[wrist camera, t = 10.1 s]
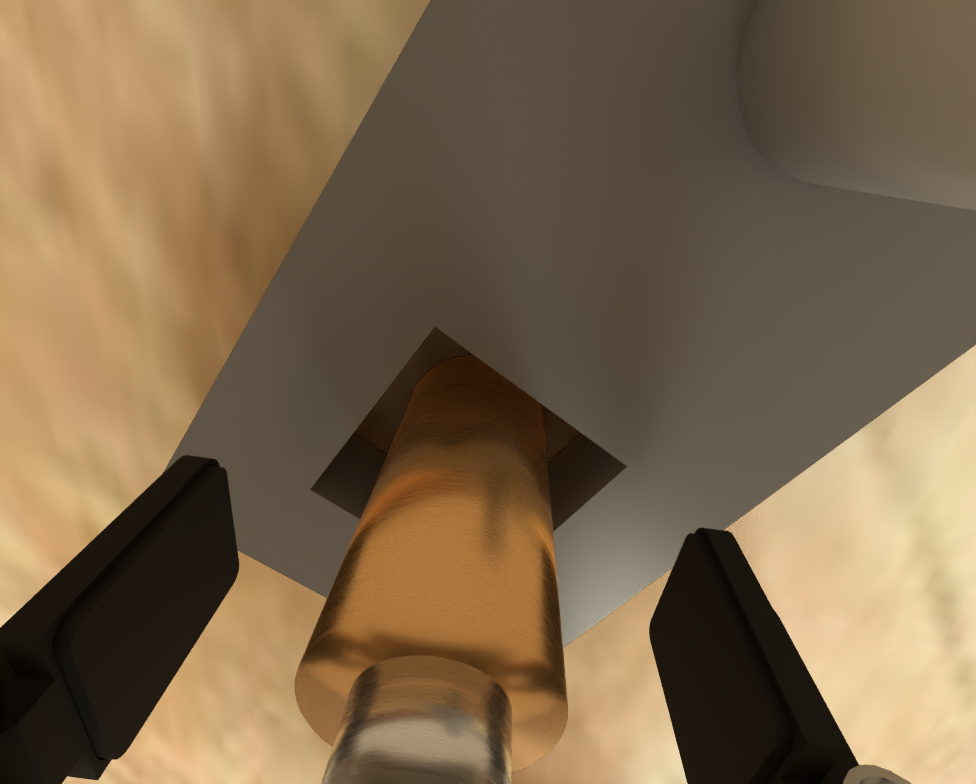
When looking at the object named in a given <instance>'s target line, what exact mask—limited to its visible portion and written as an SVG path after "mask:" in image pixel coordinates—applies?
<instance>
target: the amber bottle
mask: <svg viewBox="0 0 976 784" xmlns="http://www.w3.org/2000/svg"><path fill="white" fill-rule="evenodd" d="M295 694H296V700H297V703H298V706H299V708H300V711H301V713H302V714H303V716H304V718H305V719H306V721H307V723H308V724H309V725H310V726H311V728H312V729H313V730H314V731H315V732H316V733H317V734H318V735H319V736H320V737H321V738H322V739H323V740H324V741H325V742H327V743H328V744H329V745H331V746H332V747H333V748H332V751H331V754H330V757H329V761H328V764H327V767H326V770H325V774H324V777H323V780H322V783H321V784H511V773H513V772H516V771H518V770H521V769H523V768H525V767H527V766H529V765H531V764H533V763H534V762H536V761H537V760H539V759H540V758H542V757H543V756H544V755H546V754H547V753H548V752H549V751H550V750H551V749H552V748H553V747H554V746H555V744H556V743H557V742H558V740H559V739H560V737H561V735H562V733H563V731H564V729H565V726H566V722H567V718H568V703H567V691H566V679H565V667H564V655H563V643H562V631H561V619H560V607H559V595H558V583H557V571H556V559H555V547H554V535H553V523H552V511H551V499H550V487H549V475H548V463H547V451H546V439H545V427H544V415H543V407H542V404H541V403H539V402H538V401H537V400H535V399H534V398H532V397H531V396H530V395H528V394H527V393H526V392H524V391H523V390H521V389H520V388H519V387H517V386H516V385H515V384H513V383H512V382H510V381H509V380H508V379H506V378H505V377H504V376H502V375H501V374H499V373H498V372H497V371H495V370H494V369H493V368H491V367H490V366H488V365H487V364H486V363H484V362H483V361H482V360H480V359H479V358H477V357H476V356H475V355H468V356H460V357H456V358H452V359H449V360H446V361H444V362H442V363H440V364H438V365H437V366H435V367H433V368H432V369H431V370H430V371H428V372H427V373H426V374H425V375H424V376H423V378H422V379H421V380H420V381H419V383H418V384H417V386H416V388H415V390H414V392H413V395H412V397H411V399H410V402H409V404H408V407H407V409H406V411H405V414H404V416H403V419H402V421H401V423H400V426H399V428H398V430H397V433H396V435H395V438H394V440H393V442H392V445H391V447H390V450H389V452H388V454H387V457H386V459H385V462H384V464H383V466H382V469H381V471H380V474H379V476H378V478H377V481H376V483H375V485H374V488H373V490H372V493H371V495H370V497H369V500H368V502H367V505H366V507H365V509H364V512H363V514H362V517H361V519H360V521H359V524H358V526H357V528H356V531H355V533H354V536H353V538H352V540H351V543H350V545H349V548H348V550H347V552H346V555H345V557H344V560H343V562H342V564H341V567H340V569H339V572H338V574H337V576H336V579H335V581H334V583H333V586H332V588H331V591H330V593H329V595H328V598H327V600H326V603H325V605H324V607H323V610H322V612H321V615H320V617H319V619H318V622H317V624H316V627H315V629H314V631H313V634H312V636H311V638H310V641H309V643H308V646H307V648H306V650H305V653H304V655H303V658H302V660H301V662H300V665H299V667H298V670H297V674H296V678H295Z"/></svg>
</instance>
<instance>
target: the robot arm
mask: <svg viewBox="0 0 976 784" xmlns="http://www.w3.org/2000/svg"><path fill="white" fill-rule="evenodd" d="M238 571H239V559H238V551H237V544H236V536H235V529H234V521H233V514H232V506H231V499H230V491H229V484H228V476H227V471H226V469H225V468H223V467H220V465H219V462H218V461H217V460H216V459H212V458H205V457H198V456H191V455H184V456H182V457H180V458H179V459H178V460H177V461H176V462H175V463H174V464H173V465H172V466H170V467H169V468H168V469H167V470H166V471H165V472H164V473H163V474H162V475H161V476H160V477H159V478H158V479H157V480H156V481H155V482H154V483H153V484H151V485H150V486H149V487H148V488H147V489H146V490H145V491H144V492H143V493H142V494H141V495H140V496H139V497H138V498H137V499H136V500H135V501H134V502H133V503H131V504H130V505H129V506H128V507H127V508H126V509H125V510H124V511H123V512H122V513H121V514H120V515H119V516H118V517H117V518H116V519H115V520H114V521H112V522H111V523H110V524H109V525H108V526H107V527H106V528H105V529H104V530H103V531H102V532H101V533H100V534H99V535H98V536H97V537H96V538H95V539H94V540H92V541H91V542H90V543H89V544H88V545H87V546H86V547H85V548H84V549H83V550H82V551H81V552H80V553H79V554H78V555H77V556H76V557H75V558H73V559H72V560H71V561H70V562H69V563H68V564H67V565H66V566H65V567H64V568H63V569H62V570H61V571H60V572H59V573H58V574H57V575H56V576H55V577H53V578H52V579H51V580H50V581H49V582H48V583H47V584H46V585H45V586H44V587H43V588H42V589H41V590H40V591H39V592H38V593H37V594H36V595H34V596H33V597H32V598H31V599H30V600H29V601H28V602H27V603H26V604H25V605H24V606H23V607H22V608H21V609H20V610H19V611H18V612H17V613H16V614H14V615H13V616H12V617H11V618H10V619H9V620H8V621H7V622H6V623H5V624H4V625H3V626H2V627H1V628H0V784H62V783H63V781H64V780H65V778H66V777H67V776H69V777H77V778H84V779H92V780H99V778H100V777H101V775H102V773H103V772H104V770H105V769H106V767H107V766H108V764H109V763H110V761H111V760H112V759H118V758H120V757H121V756H122V755H123V754H124V753H125V752H126V751H127V749H128V748H129V747H130V745H131V743H132V742H133V740H134V739H135V737H136V736H137V734H138V733H139V731H140V729H141V728H142V726H143V725H144V723H145V722H146V720H147V718H148V717H149V715H150V714H151V712H152V711H153V709H154V707H155V706H156V704H157V703H158V701H159V700H160V698H161V696H162V695H163V693H164V692H165V690H166V689H167V687H168V685H169V684H170V682H171V681H172V679H173V678H174V676H175V674H176V673H177V671H178V670H179V668H180V667H181V665H182V664H183V662H184V660H185V659H186V657H187V656H188V654H189V653H190V651H191V649H192V648H193V646H194V645H195V643H196V642H197V640H198V638H199V637H200V635H201V634H202V632H203V631H204V629H205V627H206V626H207V624H208V623H209V621H210V620H211V618H212V616H213V615H214V613H215V612H216V610H217V609H218V607H219V605H220V604H221V602H222V601H223V599H224V598H225V596H226V594H227V593H228V591H229V590H230V588H231V587H232V585H233V583H234V582H235V580H236V577H237V574H238ZM649 634H650V641H651V645H652V649H653V653H654V657H655V660H656V664H657V668H658V672H659V676H660V680H661V683H662V687H663V691H664V695H665V699H666V703H667V707H668V710H669V714H670V718H671V722H672V726H673V730H674V733H675V737H676V741H677V745H678V749H679V753H680V756H681V760H682V764H683V768H684V772H685V776H686V779H687V783H688V784H911V783H910V782H909V781H907V780H905V779H903V778H902V777H900V776H898V775H897V774H895V773H893V772H892V771H889V770H886V769H883V768H880V767H878V766H875V765H859V764H858V762H857V760H856V759H855V757H854V755H853V753H852V751H851V749H850V747H849V746H848V744H847V742H846V740H845V738H844V736H843V734H842V733H841V731H840V729H839V727H838V725H837V723H836V722H835V720H834V718H833V716H832V714H831V712H830V710H829V709H828V707H827V705H826V703H825V701H824V699H823V698H822V696H821V694H820V692H819V690H818V688H817V686H816V685H815V683H814V681H813V679H812V677H811V675H810V673H809V672H808V670H807V668H806V666H805V664H804V662H803V661H802V659H801V657H800V655H799V653H798V651H797V649H796V648H795V646H794V644H793V642H792V640H791V638H790V636H789V635H788V633H787V631H786V629H785V627H784V625H783V624H782V622H781V620H780V618H779V616H778V615H777V614H776V612H775V611H774V610H773V608H772V606H771V605H770V603H769V601H768V599H767V597H766V595H765V593H764V591H763V590H762V588H761V586H760V584H759V582H758V580H757V578H756V577H755V575H754V573H753V571H752V569H751V567H750V565H749V564H748V562H747V560H746V558H745V556H744V554H743V552H742V551H741V549H740V547H739V545H738V543H737V541H736V539H735V537H734V536H733V535H732V533H730V532H729V531H724V530H717V529H710V528H702V527H701V528H698V529H697V530H696V531H695V533H694V534H693V533H689V534H688V535H687V536H686V538H685V540H684V542H683V545H682V547H681V550H680V552H679V554H678V557H677V559H676V562H675V564H674V566H673V569H672V571H671V574H670V576H669V578H668V581H667V583H666V586H665V588H664V590H663V593H662V595H661V597H660V600H659V602H658V605H657V607H656V609H655V612H654V614H653V617H652V619H651V622H650V628H649Z"/></svg>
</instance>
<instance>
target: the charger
mask: <svg viewBox="0 0 976 784" xmlns="http://www.w3.org/2000/svg"><path fill="white" fill-rule="evenodd" d="M434 327H436V328H437V329H439V330H440V331H442V332H443V333H444V334H446V335H447V336H449V337H450V338H451V339H453V340H454V341H455V342H457V343H458V344H460V345H461V346H462V347H464V348H465V349H466V350H468V351H469V352H471V353H472V354H473V355H475V356H476V357H477V358H479V359H480V360H482V361H483V362H484V363H486V364H487V365H488V366H490V367H491V368H493V369H494V370H495V371H497V372H498V373H499V374H501V375H502V376H504V377H505V378H506V379H508V380H509V381H510V382H512V383H513V384H515V385H516V386H517V387H519V388H520V389H521V390H523V391H524V392H526V393H527V394H528V395H530V396H531V397H532V398H534V399H535V400H537V401H538V402H539V403H541V404H542V405H543V406H545V407H546V408H548V409H549V410H550V411H552V412H553V413H554V414H556V415H557V416H559V417H560V418H561V419H563V420H564V421H565V422H567V423H568V424H570V425H571V426H572V427H574V428H575V429H576V430H578V431H579V432H580V433H579V434H578V435H577V436H576V437H575V438H574V439H573V440H572V441H571V442H570V443H569V444H568V445H567V446H566V447H565V448H564V449H563V450H562V451H561V452H560V453H558V454H557V455H556V456H555V457H554V458H553V459H552V460H551V461H550V462H549V463H548V475H549V487H550V499H551V511H552V523H553V535H554V547H555V559H556V571H557V583H558V595H559V607H560V619H561V631H562V643H563V648H564V647H565V646H567V645H568V644H569V643H571V642H572V641H573V640H575V639H576V638H578V637H579V636H580V635H582V634H583V633H584V632H586V631H587V630H588V629H590V628H591V627H593V626H594V625H595V624H597V623H598V622H599V621H601V620H602V619H603V618H605V617H606V616H607V615H609V614H610V613H612V612H613V611H614V610H616V609H617V608H618V607H620V606H621V605H622V604H624V603H625V602H626V601H628V600H629V599H631V598H632V597H633V596H635V595H636V594H637V593H639V592H640V591H641V590H643V589H644V588H646V587H647V586H648V585H650V584H651V583H652V582H654V581H655V580H656V579H658V578H659V577H660V576H662V575H663V574H665V573H666V572H667V571H669V570H670V569H671V568H673V566H674V564H675V562H676V559H677V557H678V554H679V552H680V550H681V547H682V545H683V542H684V540H685V538H686V536H687V535H688V534H689V533H693V534H694V533H695V531H696V530H697V529H698V528H701V527H702V528H710V529H717V530H724V529H726V528H727V527H728V526H730V525H731V524H733V523H734V522H735V521H737V520H738V519H739V518H741V517H742V516H743V515H745V514H746V513H747V512H749V511H750V510H752V509H753V508H754V507H756V506H757V505H758V504H760V503H761V502H762V501H764V500H765V499H767V498H768V497H769V496H771V495H772V494H773V493H775V492H776V491H777V490H779V489H780V488H781V487H783V486H784V485H786V484H787V483H788V482H790V481H791V480H792V479H794V478H795V477H796V476H798V475H799V474H801V473H802V472H803V471H805V470H806V469H807V468H809V467H810V466H811V465H813V464H814V463H815V462H817V461H818V460H820V459H821V458H822V457H824V456H825V455H826V454H828V453H829V452H830V451H832V450H833V449H834V448H836V447H837V446H839V445H840V444H841V443H843V442H844V441H845V440H847V439H848V438H849V437H851V436H852V435H854V434H855V433H856V432H858V431H859V430H860V429H862V428H863V427H864V426H866V425H867V424H868V423H870V422H871V421H873V420H874V419H875V418H877V417H878V416H879V415H881V414H882V413H883V412H885V411H886V410H888V409H889V408H890V407H892V406H893V405H894V404H896V403H897V402H898V401H900V400H901V399H902V398H904V397H905V396H907V395H908V394H909V393H911V392H912V391H913V390H915V389H916V388H917V387H919V386H920V385H921V384H923V383H924V382H926V381H927V380H928V379H930V378H931V377H932V376H934V375H935V374H936V373H938V372H939V371H941V370H942V369H943V368H945V367H946V366H947V365H949V364H950V363H951V362H953V361H954V360H955V359H957V358H958V357H960V356H961V355H962V354H964V353H965V352H966V351H968V350H969V349H970V348H972V347H973V346H975V345H976V0H431V1H430V2H429V4H428V6H427V8H426V9H425V11H424V13H423V15H422V17H421V18H420V20H419V22H418V24H417V25H416V27H415V29H414V31H413V32H412V34H411V36H410V38H409V39H408V41H407V43H406V45H405V47H404V48H403V50H402V52H401V54H400V55H399V57H398V59H397V61H396V62H395V64H394V66H393V68H392V70H391V71H390V73H389V75H388V77H387V78H386V80H385V82H384V84H383V85H382V87H381V89H380V91H379V92H378V94H377V96H376V98H375V100H374V101H373V103H372V105H371V107H370V108H369V110H368V112H367V114H366V115H365V117H364V119H363V121H362V123H361V124H360V126H359V128H358V130H357V131H356V133H355V135H354V137H353V138H352V140H351V142H350V144H349V145H348V147H347V149H346V151H345V153H344V154H343V156H342V158H341V160H340V161H339V163H338V165H337V167H336V168H335V170H334V172H333V174H332V176H331V177H330V179H329V181H328V183H327V184H326V186H325V188H324V190H323V191H322V193H321V195H320V197H319V198H318V200H317V202H316V204H315V206H314V207H313V209H312V211H311V213H310V214H309V216H308V218H307V220H306V221H305V223H304V225H303V227H302V229H301V230H300V232H299V234H298V236H297V237H296V239H295V241H294V243H293V244H292V246H291V248H290V250H289V251H288V253H287V255H286V257H285V259H284V260H283V262H282V264H281V266H280V267H279V269H278V271H277V273H276V274H275V276H274V278H273V280H272V282H271V283H270V285H269V287H268V289H267V290H266V292H265V294H264V296H263V297H262V299H261V301H260V303H259V304H258V306H257V308H256V310H255V312H254V313H253V315H252V317H251V319H250V320H249V322H248V324H247V326H246V327H245V329H244V331H243V333H242V335H241V336H240V338H239V340H238V342H237V343H236V345H235V347H234V349H233V350H232V352H231V354H230V356H229V358H228V359H227V361H226V363H225V365H224V366H223V368H222V370H221V372H220V373H219V375H218V377H217V379H216V380H215V382H214V384H213V386H212V388H211V389H210V391H209V393H208V395H207V396H206V398H205V400H204V402H203V403H202V405H201V407H200V409H199V411H198V412H197V414H196V416H195V418H194V419H193V421H192V423H191V425H190V426H189V428H188V430H187V432H186V433H185V435H184V437H183V439H182V441H181V442H180V444H179V446H178V448H177V449H176V451H175V453H174V455H173V456H172V458H171V460H170V462H169V464H168V465H167V467H166V469H165V471H166V470H167V469H168V468H169V467H170V466H172V465H173V464H174V463H175V462H176V461H177V460H178V459H179V458H180V457H182V456H184V455H191V456H198V457H205V458H212V459H216V460H217V461H218V462H219V465H220V467H223V468H225V469H226V471H227V476H228V484H229V491H230V499H231V506H232V514H233V521H234V529H235V536H236V544H237V550H238V551H240V552H242V553H244V554H246V555H248V556H249V557H251V558H253V559H255V560H257V561H259V562H261V563H262V564H264V565H266V566H268V567H270V568H272V569H274V570H276V571H277V572H279V573H281V574H283V575H285V576H287V577H289V578H291V579H292V580H294V581H296V582H298V583H300V584H302V585H304V586H305V587H307V588H309V589H311V590H313V591H315V592H317V593H319V594H320V595H322V596H324V597H326V598H328V595H329V593H330V591H331V588H332V586H333V583H334V581H335V579H336V576H337V574H338V572H339V569H340V567H341V564H342V562H343V560H344V557H345V555H346V552H347V550H348V548H349V545H350V543H351V540H352V538H353V536H354V533H355V531H356V528H357V526H358V524H359V521H360V519H361V517H362V514H363V512H364V509H365V507H366V505H367V502H368V500H369V497H370V495H371V493H372V490H373V488H374V485H375V483H376V481H377V478H378V476H379V474H380V471H381V469H382V466H383V464H384V462H385V459H386V457H387V454H386V453H384V452H382V451H381V450H379V449H378V448H376V447H374V446H373V445H371V444H370V443H368V442H367V441H365V440H363V439H362V438H360V437H359V436H357V435H356V434H354V432H355V430H356V429H357V428H358V426H359V425H360V424H361V422H362V421H363V420H364V418H365V417H366V416H367V415H368V413H369V412H370V411H371V409H372V408H373V407H374V405H375V404H376V403H377V401H378V400H379V399H380V398H381V396H382V395H383V394H384V392H385V391H386V390H387V388H388V387H389V386H390V384H391V383H392V382H393V381H394V379H395V378H396V377H397V375H398V374H399V373H400V371H401V370H402V369H403V367H404V366H405V365H406V364H407V362H408V361H409V360H410V358H411V357H412V356H413V354H414V353H415V352H416V350H417V349H418V348H419V347H420V345H421V344H422V343H423V341H424V340H425V339H426V337H427V336H428V335H429V333H430V332H431V331H432V329H433V328H434ZM165 471H164V472H165ZM164 472H163V473H164Z"/></svg>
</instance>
